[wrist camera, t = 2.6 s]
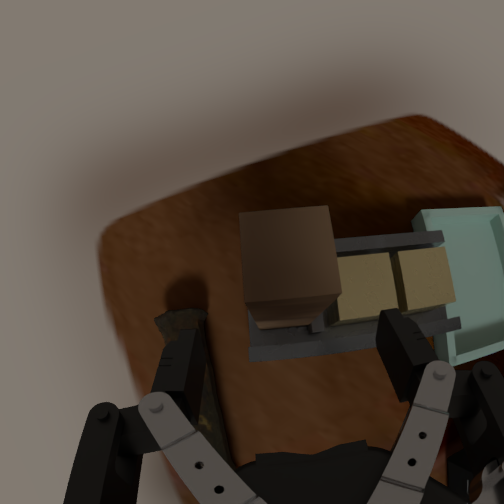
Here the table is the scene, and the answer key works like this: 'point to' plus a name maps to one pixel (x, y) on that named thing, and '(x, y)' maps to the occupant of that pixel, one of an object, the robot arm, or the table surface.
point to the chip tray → (471, 279)
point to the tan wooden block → (289, 266)
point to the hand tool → (209, 409)
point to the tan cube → (422, 280)
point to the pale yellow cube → (363, 289)
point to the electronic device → (459, 473)
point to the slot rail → (357, 334)
